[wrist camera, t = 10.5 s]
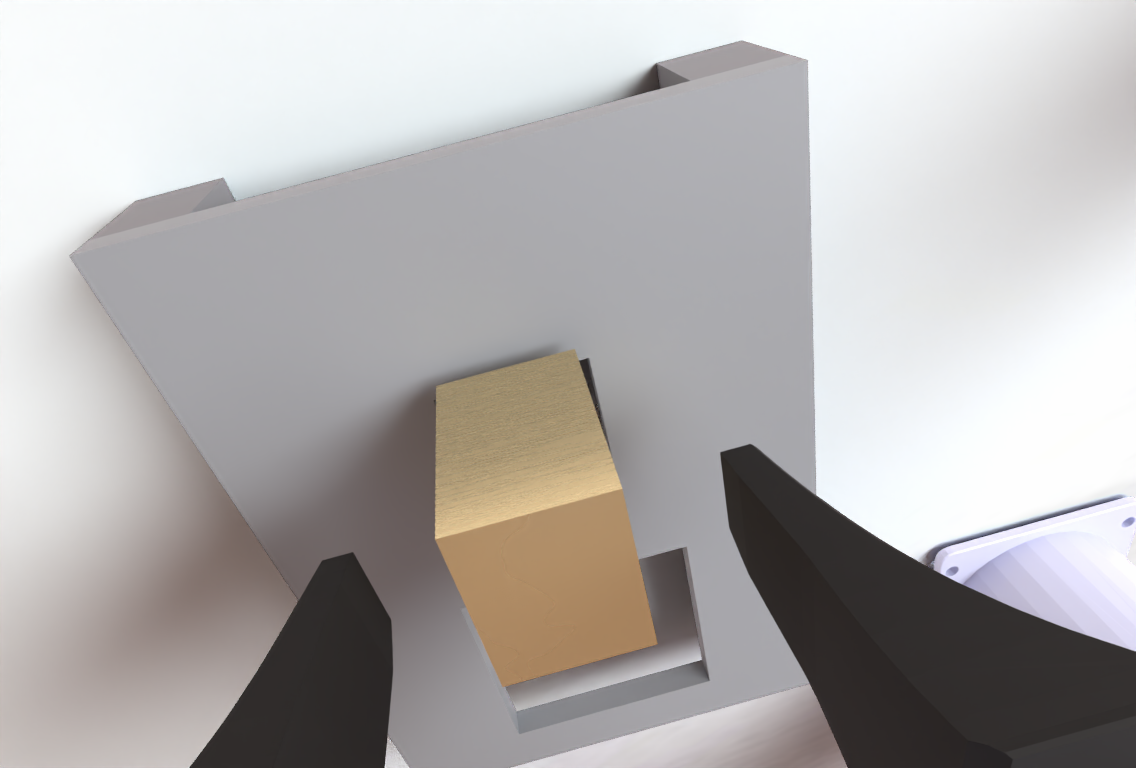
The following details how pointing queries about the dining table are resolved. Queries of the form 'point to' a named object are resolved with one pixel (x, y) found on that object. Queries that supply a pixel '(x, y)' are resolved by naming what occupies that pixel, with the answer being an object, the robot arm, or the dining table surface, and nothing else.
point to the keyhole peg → (537, 519)
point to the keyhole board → (502, 364)
